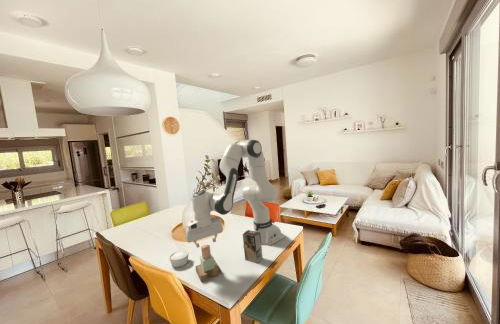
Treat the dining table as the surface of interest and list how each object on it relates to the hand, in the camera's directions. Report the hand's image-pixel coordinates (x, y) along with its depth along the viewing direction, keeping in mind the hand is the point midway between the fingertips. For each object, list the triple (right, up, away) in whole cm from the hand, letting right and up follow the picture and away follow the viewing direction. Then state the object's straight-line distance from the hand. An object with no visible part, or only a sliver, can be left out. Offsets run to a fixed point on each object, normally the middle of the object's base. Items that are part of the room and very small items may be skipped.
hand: (206, 244), depth 117 cm
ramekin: (-18, -16, +11) cm, 27 cm away
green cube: (+1, -12, -1) cm, 12 cm away
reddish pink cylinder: (+1, -6, -2) cm, 7 cm away
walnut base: (+1, -15, -1) cm, 15 cm away
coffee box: (+27, -12, +8) cm, 30 cm away
